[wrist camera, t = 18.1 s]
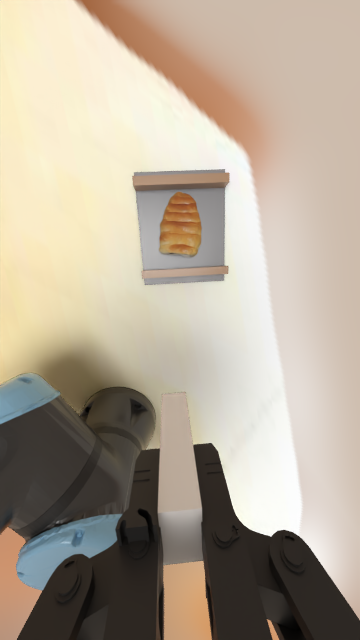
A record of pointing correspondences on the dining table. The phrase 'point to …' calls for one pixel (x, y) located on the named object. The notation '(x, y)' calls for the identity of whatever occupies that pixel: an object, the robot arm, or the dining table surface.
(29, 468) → the robot arm
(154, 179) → the pastry holder
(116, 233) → the dining table surface
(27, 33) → the dining table surface
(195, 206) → the pastry
